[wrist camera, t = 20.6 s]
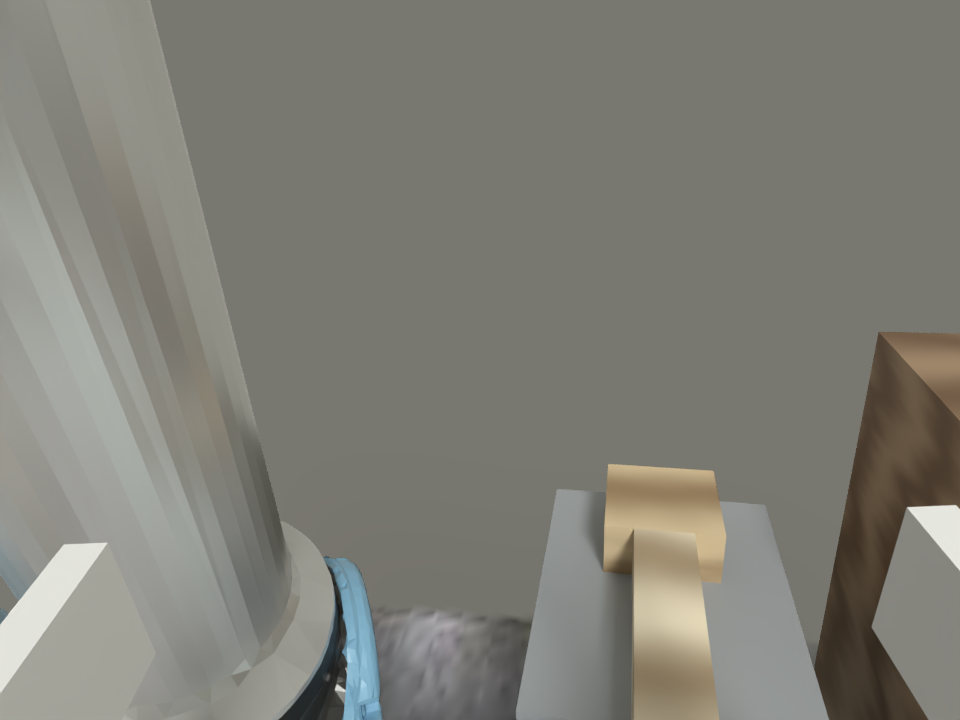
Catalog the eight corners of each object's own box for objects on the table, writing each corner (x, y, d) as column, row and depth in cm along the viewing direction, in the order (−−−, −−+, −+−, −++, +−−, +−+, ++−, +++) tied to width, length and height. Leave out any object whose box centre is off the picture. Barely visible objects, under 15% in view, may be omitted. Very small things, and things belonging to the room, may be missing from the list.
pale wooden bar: (805, 1085, 18) (822, 1024, 16) (575, 1029, 19) (575, 970, 18) (709, 513, 40) (713, 470, 39) (607, 505, 41) (608, 464, 40)
